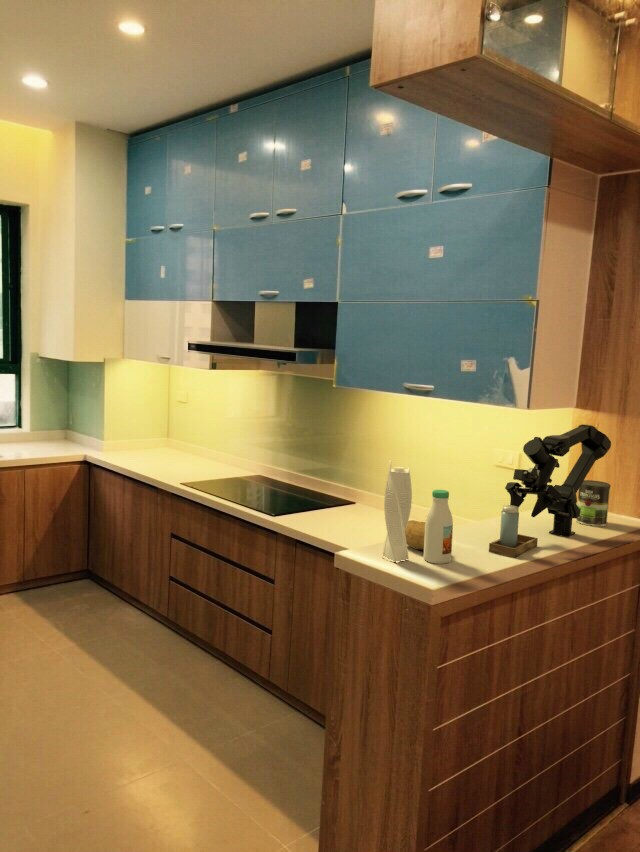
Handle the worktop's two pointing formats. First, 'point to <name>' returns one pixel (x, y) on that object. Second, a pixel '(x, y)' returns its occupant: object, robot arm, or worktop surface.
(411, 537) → the potato
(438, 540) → the milk bottle
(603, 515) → the coffee can
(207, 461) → the worktop surface
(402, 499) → the skyscraper
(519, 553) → the caddy
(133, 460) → the worktop surface
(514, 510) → the salt shaker
